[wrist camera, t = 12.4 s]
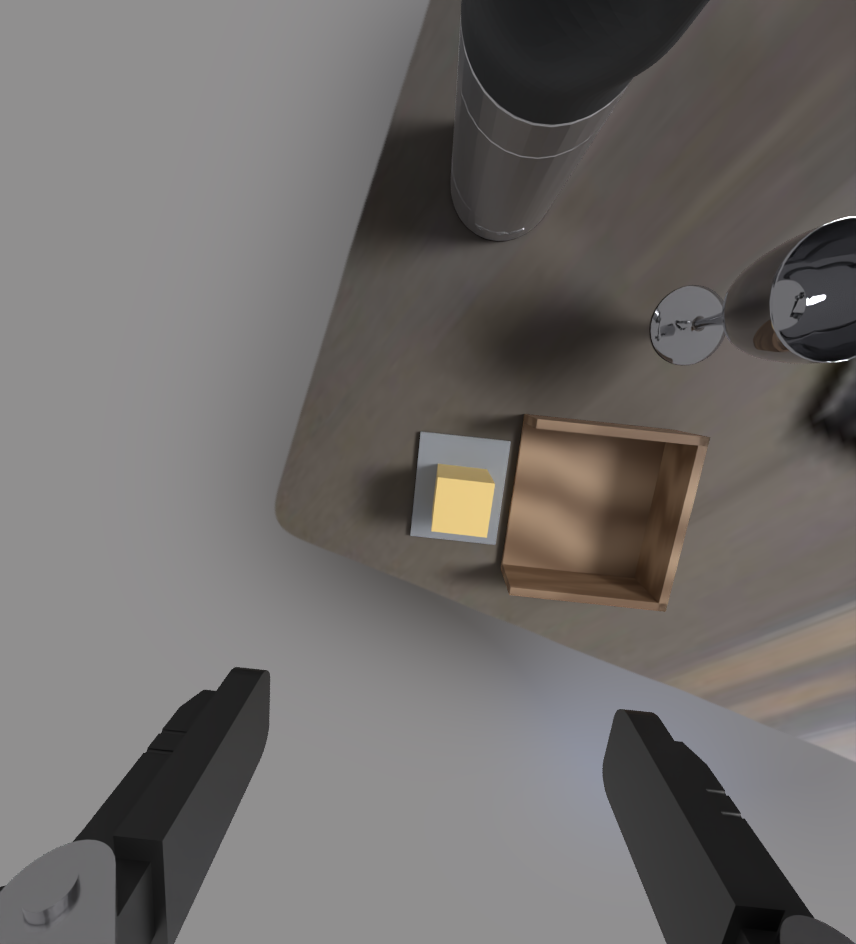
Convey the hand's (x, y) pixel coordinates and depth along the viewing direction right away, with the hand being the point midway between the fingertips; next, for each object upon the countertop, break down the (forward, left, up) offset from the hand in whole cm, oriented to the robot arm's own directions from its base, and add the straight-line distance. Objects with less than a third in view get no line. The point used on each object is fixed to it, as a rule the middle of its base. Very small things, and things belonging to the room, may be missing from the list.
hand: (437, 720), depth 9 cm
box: (+3, +15, -33) cm, 37 cm away
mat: (+3, +3, -33) cm, 33 cm away
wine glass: (-15, +22, -33) cm, 43 cm away
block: (+3, +3, -33) cm, 33 cm away
